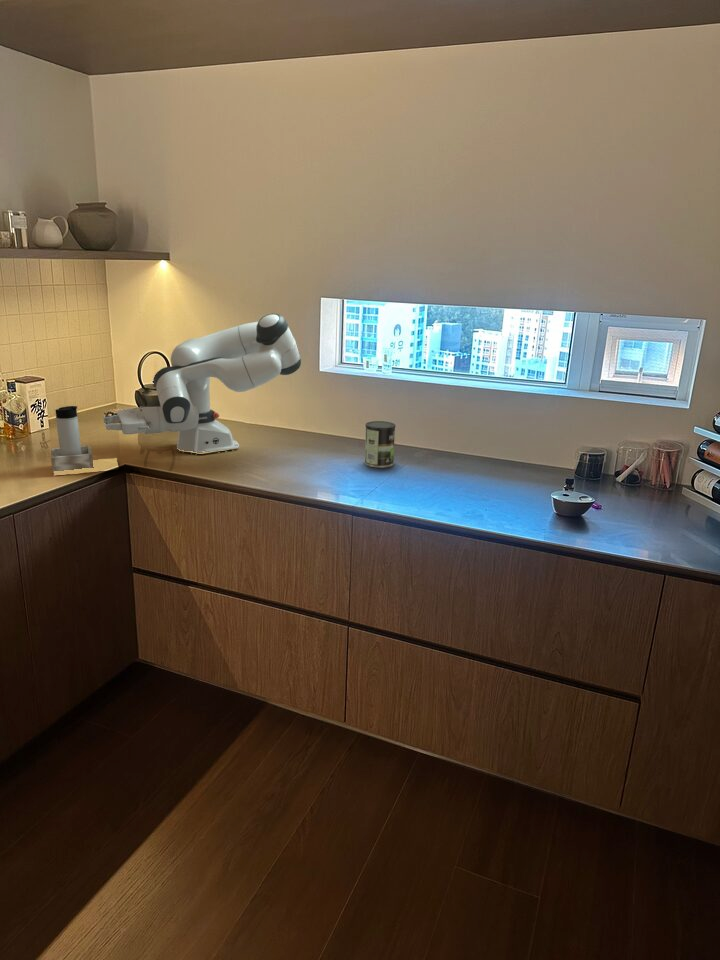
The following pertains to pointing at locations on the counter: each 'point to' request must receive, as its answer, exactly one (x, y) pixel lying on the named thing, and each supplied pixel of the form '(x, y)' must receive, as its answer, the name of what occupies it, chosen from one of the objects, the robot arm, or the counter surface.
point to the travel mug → (68, 431)
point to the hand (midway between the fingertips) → (104, 423)
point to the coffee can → (379, 444)
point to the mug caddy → (72, 460)
